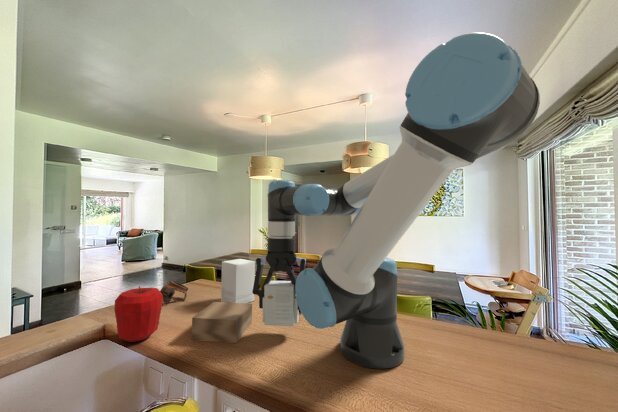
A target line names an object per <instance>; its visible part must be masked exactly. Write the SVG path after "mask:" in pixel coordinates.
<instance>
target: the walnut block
mask: <svg viewBox="0 0 618 412" xmlns="http://www.w3.org/2000/svg"><path fill="white" fill-rule="evenodd" d="M252 322H253V303H228V302H221V301H213V302H212V303H210V304H209V305H208V306H206V307H205V308H203V309H202V310H201V311H199V312H198V313H196V314H195V315H194V316H193V317H191V341H201V342H213V343H215V342H216V343H228V344H229V343H230V344H237V342H238V341H239V340H240V339H241V338H242V336H243V335H244V334H245V332H246V331H247V330H248V329H249V327H250V326H251V324H252Z"/></svg>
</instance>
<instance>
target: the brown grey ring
mask: <svg viewBox="0 0 618 412" xmlns="http://www.w3.org/2000/svg"><path fill="white" fill-rule="evenodd" d="M188 290H189V288H188V287H187V286H185V285H183V284H182V283H179V282H176V281H173V280H170V281H169V283H167V284H165V285H164V286H163V287H161V289H160V290H159V291H160V292H161V293H162V296H163V303H164V304H170V302H171V301H172V298H173V297H174V295H175V292H176V291H177V292H179V293H182V294H184V298H183V301H186V299H187V297H188Z"/></svg>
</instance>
